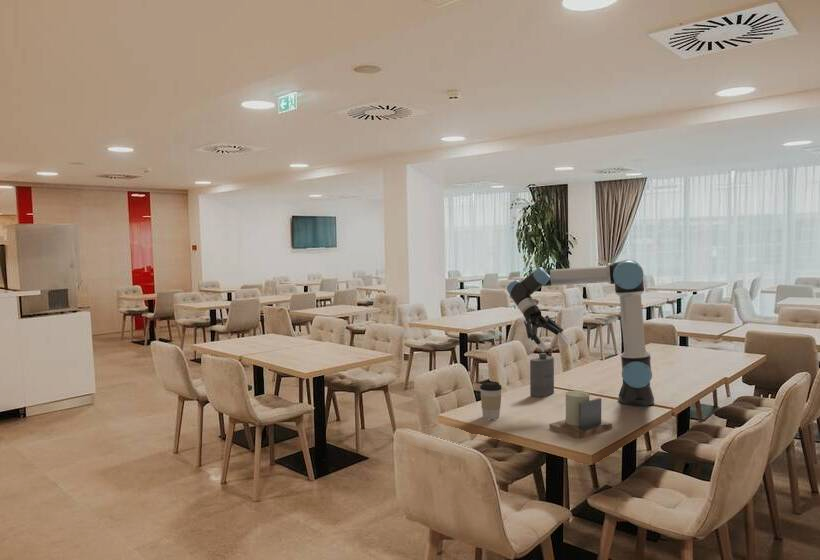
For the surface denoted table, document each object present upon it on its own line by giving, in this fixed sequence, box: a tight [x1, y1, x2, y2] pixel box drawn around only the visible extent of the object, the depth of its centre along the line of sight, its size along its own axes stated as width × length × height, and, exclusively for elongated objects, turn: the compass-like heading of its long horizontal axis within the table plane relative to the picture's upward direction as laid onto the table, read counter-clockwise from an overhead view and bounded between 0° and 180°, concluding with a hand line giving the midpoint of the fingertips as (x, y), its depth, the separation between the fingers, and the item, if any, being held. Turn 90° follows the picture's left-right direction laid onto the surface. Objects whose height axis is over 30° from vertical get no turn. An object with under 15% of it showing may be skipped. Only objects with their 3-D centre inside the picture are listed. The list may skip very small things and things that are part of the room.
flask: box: [529, 352, 555, 399], centre depth 276 cm, size 15×6×20 cm, turn 130°
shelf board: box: [549, 419, 613, 439], centre depth 226 cm, size 20×14×2 cm
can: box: [564, 390, 591, 426], centre depth 227 cm, size 9×9×12 cm
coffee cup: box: [479, 380, 503, 420], centre depth 242 cm, size 9×9×15 cm
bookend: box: [579, 397, 606, 431], centre depth 221 cm, size 12×3×10 cm, turn 124°
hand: (555, 347), depth 248 cm, fingers open, 13 cm apart
